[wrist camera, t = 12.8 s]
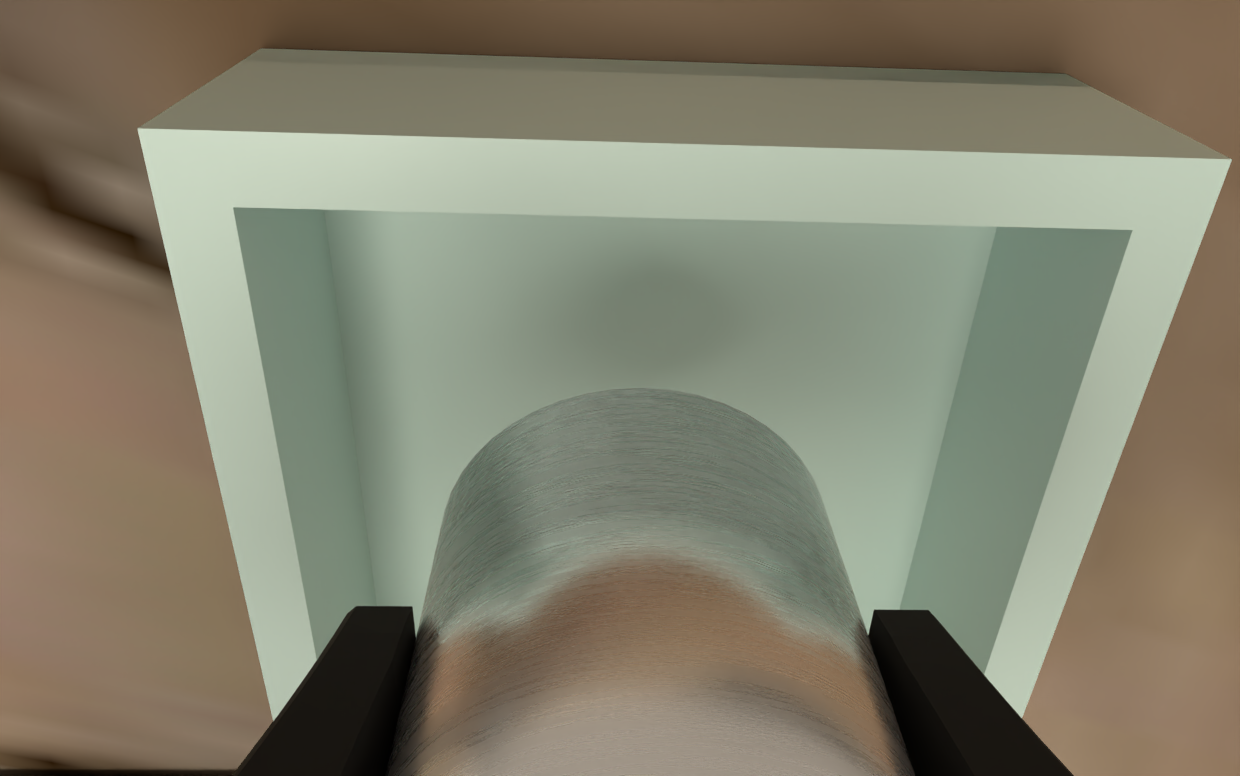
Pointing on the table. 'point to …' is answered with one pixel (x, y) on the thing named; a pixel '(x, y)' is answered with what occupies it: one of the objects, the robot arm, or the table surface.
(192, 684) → the table surface
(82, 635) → the table surface
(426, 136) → the tote
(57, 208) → the table surface
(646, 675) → the metal cylinder
